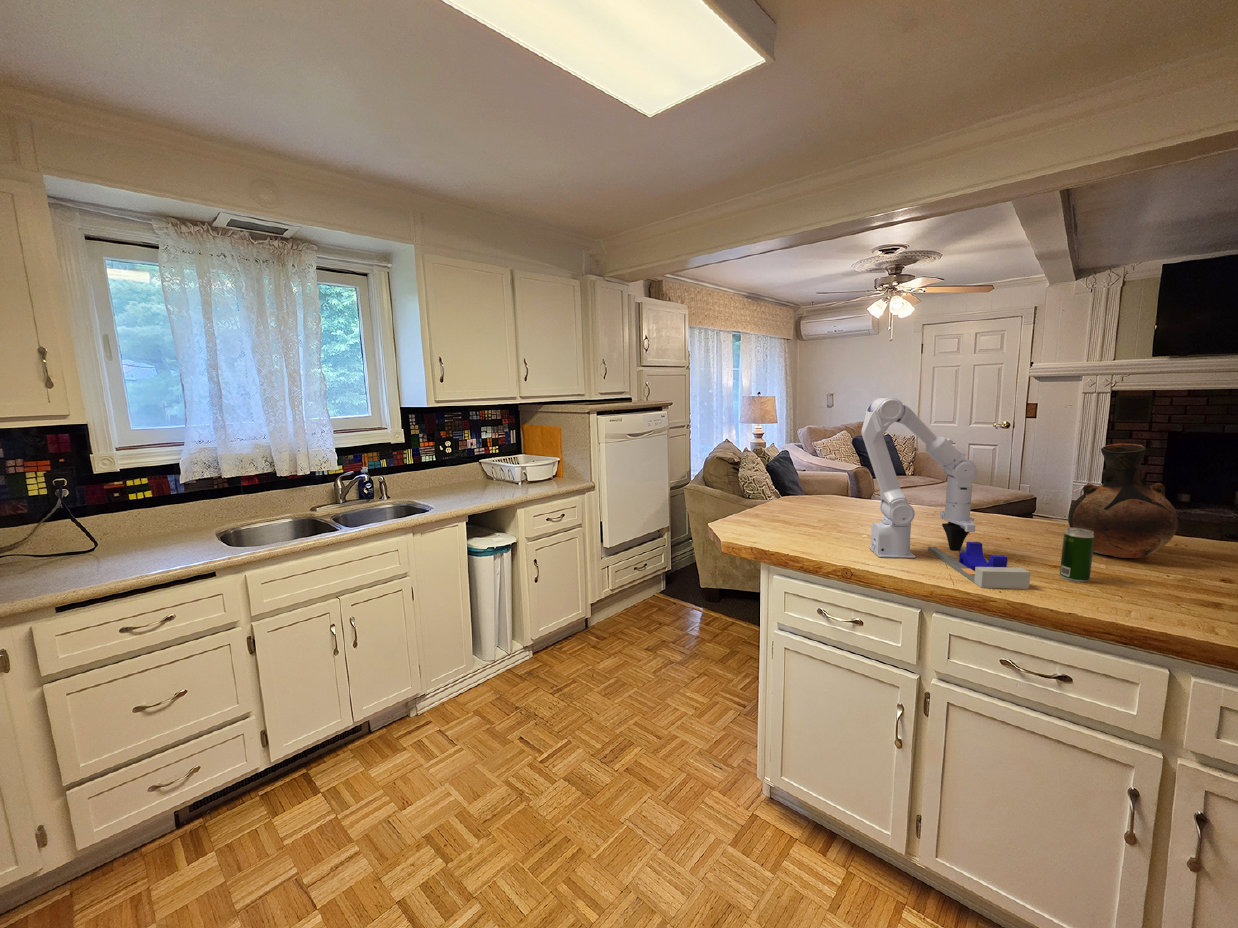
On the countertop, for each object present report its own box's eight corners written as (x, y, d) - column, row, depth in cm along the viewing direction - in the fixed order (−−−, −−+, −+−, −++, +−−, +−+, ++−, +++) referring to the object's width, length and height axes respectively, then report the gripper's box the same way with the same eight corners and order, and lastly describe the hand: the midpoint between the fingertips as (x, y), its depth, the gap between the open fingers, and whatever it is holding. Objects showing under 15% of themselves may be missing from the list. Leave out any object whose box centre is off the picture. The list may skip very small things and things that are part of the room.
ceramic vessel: (1156, 551, 137) (1171, 442, 133) (1187, 572, 122) (1205, 450, 118) (1056, 541, 148) (1067, 440, 143) (1073, 560, 132) (1086, 447, 128)
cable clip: (958, 563, 133) (960, 541, 132) (977, 563, 133) (979, 541, 132) (985, 580, 122) (986, 556, 121) (1005, 581, 121) (1007, 557, 120)
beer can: (1078, 584, 117) (1083, 534, 115) (1053, 576, 122) (1058, 528, 121) (1095, 581, 118) (1101, 532, 117) (1070, 573, 124) (1075, 526, 122)
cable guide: (981, 587, 117) (982, 571, 116) (927, 550, 143) (928, 537, 143) (1028, 588, 116) (1030, 572, 115) (966, 551, 142) (967, 537, 141)
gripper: (989, 508, 129) (985, 559, 131) (960, 496, 143) (957, 542, 145) (959, 508, 130) (956, 558, 132) (933, 496, 144) (930, 541, 146)
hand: (954, 550), depth 138 cm, fingers closed
